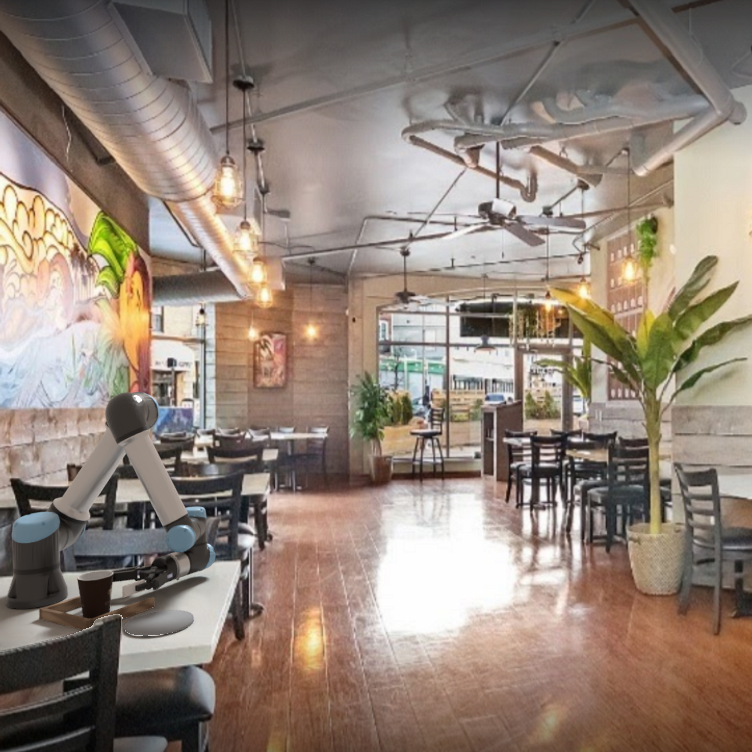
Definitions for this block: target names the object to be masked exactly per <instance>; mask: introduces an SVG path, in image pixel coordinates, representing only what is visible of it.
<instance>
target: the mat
mask: <svg viewBox="0 0 752 752" xmlns="http://www.w3.org/2000/svg"><path fill="white" fill-rule="evenodd" d="M194 620H195V619H194V615H193V614H192V613H191V612H189V611H188V610H187V611H186V610H181V609H166V610H165V609H163V610H157V611H151V612H146V613H144V614H143V613H142V614H141V615H137V616H135V617H133V618H131V619H129V620H128V621H127V622H126V623H125V624H124V629H125V630H126V632H128V633H130V634H134V635H143V636H148V635H160V634H167V633H172V632H176V631H178V632H180V631H179V630H181V631H183V630H185V629H187V628H188V626H189V627H190V626H191V625H192V624H193V623H194ZM186 627H187V628H186ZM124 629H123V630H124ZM182 629H183V630H182ZM125 630H124V631H125ZM176 633H177V632H176ZM172 634H173V633H172Z"/></svg>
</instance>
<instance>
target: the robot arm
mask: <svg viewBox="0 0 752 752" xmlns="http://www.w3.org/2000/svg"><path fill="white" fill-rule="evenodd" d="M104 415H105V423H104V426H105V432H104V433H103V435H102V436H101V438H100V439H99V440H98V443H97V444H96V446H94V448H93V450H92V452H91V453H90V454H89V456H88V458H86V461H85V462H84V463H83V465H82V467H81V469H80V470H78V473H77V474H76V476H75V477H74V478H73V480H72V482H71V483H70V485H69V486H68V487H67V489H66V491H65V492H64V494H63V495H62V496H61V497H57V498H54V500H53V501H52V503H51V504H50V506H49V507H48V509H47V510H46V511H40V512H33V513H30V514H25V515H23V516H21V517H19V518H17V519H16V520H15V521H14V522H13V523H12V530H11V531H12V532H11V538H12V541H11V542H12V543H11V544H12V572H13V573H12V579H11V582H10V584H9V585H10V586H9V588H8V591H7V595H6V599H5V601H6V607H8V608H9V607H10V608H9V609H14V608H16V609H17V610H21V609H22V610H23V609H24V610H26V609H27V610H28V609H34V608H42V607H47V606H50V605H53V604H56V603H59V602H62V601H63V600H65V599H66V598H67V597H68V595H69V594H68V593H69V592H68V590H69V588H68V584H67V583H66V580H65V578H64V575H63V572H62V570H61V551H64V550H65V549H67V548H70V547H71V546H73V545H75V544H76V543H77V542H78V541H79V540H80V539H81V538H82V537H83V536H84V533H85V530H86V525H87V523H88V521H89V520H90V518H91V513H90V511H89V510H90V509H91V507H92V506H93V505H94V503H95V502H96V500H97V498H98V497H99V495H100V494H101V492H102V491H103V489H104V488H105V486H106V485H107V484H108V482H109V480H110V479H111V477H112V476H113V474H114V473H115V471H116V470H117V468H118V467H119V465H120V463H121V462H122V460H123V459H124V458H125V456H127V458H128V459H129V462H130V463H131V465H132V468H133V470H134V471H135V473H136V476H137V478H138V480H139V482H140V484H141V485H142V487H143V489H144V492H145V493H146V496H147V498H148V499H149V501H150V503H151V506H152V508H153V509H154V511H155V513H156V515H157V517H158V519H159V521H160V523H161V525H162V527H163V529H164V532H165V533H166V536H165V542H166V543H165V544H166V546H167V547H168V549H169V550H170V551H172V552H171V553H168V554H166V555H162V556H159V557H156V558H154V560H153V561H152V563H151V564H150V565H149V564H148V565H145V566H143V565H141V564H139V565H135V566H132V567H126V568H120V569H115V570H111V571H112V572H113V583H118V582H124V581H133V580H134V582H131V583H128V584H125V585H122V590H121V591H122V592H121V593H122V598H126V597H129V596H130V597H131V596H132V595H135V594H138V593H141V592H144V591H146V590H147V591H150V590H151V589H152V590H153V591H157V590H158V589H160V588H161V587H162V586H164V585H165V584H167V583H169V582H173V581H174V580H176V581H179V580H180V578H183V577H187V576H189V575H192V574H195V573H198V572H201V571H204V570H206V569H208V568H210V567H212V566H213V564H214V563H215V560H216V552H215V550H214V547H213V546H212V545H211V544H210V543H208V540H207V539H208V538H207V536H208V535H207V533H208V532H207V519H208V518H207V512H206V509H205V507H204V506H203V507H202V506H188V507H185V505H184V503H183V500H182V499H181V496H180V495H179V492H178V491H177V489H176V486H175V485H174V483H173V481H172V479H171V477H170V474H169V473H168V471H167V469H166V467H165V465H164V463H163V461H162V459H161V457H160V454H159V453H158V450H157V449H156V447H155V444H154V443H153V441H152V439H151V437H150V433H151V428H153V427H154V425H156V424H157V422H158V421H159V419H160V415H161V409H160V405H159V403H158V401H157V400H156V398H154V397H153V396H152V395H150V394H147V393H145V392H141V391H135V392H131V391H130V392H121V393H118V394H116V395H114V396H113V397H112V398H111V399H110V400H109V401H108V403H107V405H106V407H105V414H104ZM16 609H15V610H16Z"/></svg>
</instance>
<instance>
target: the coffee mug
mask: <svg viewBox="0 0 752 752" xmlns="http://www.w3.org/2000/svg"><path fill="white" fill-rule="evenodd" d="M112 571H113V570H95V571H94V570H93V571H88V572H86V573H81V574H80V575H78V576H77V578H76V579H77V586H78V592H79V596H80V600H81V607H80V608H81V612H82V614H81V615H82V617H84V618H88V619H92V618H95V617H98V616H100V615H103V614H106V613H109V612H111V602H112V594H113V593H112V592H113V583H114V582H113V572H112Z"/></svg>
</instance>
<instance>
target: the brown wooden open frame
mask: <svg viewBox="0 0 752 752" xmlns="http://www.w3.org/2000/svg"><path fill="white" fill-rule="evenodd" d="M152 607H154V608H155V607H156V606H155V597H153V596H150V597H147V598H144V599H141V600H139V601H135V602H134V603H130V604H128V605H125V606H122V607H120V608H117V609H114V610H112V611H111V610H110V612H109V613H106V614H103V615H100V616H98V617H95V618H92V619H88V618H84V617H83V616H80V615H75V614H71V613H67V612H68V611H69V612H70V611H73V610H74V609H77V608H82V607H81V600H80V595H79V596H75V597H73V598H69V599H66V600H65V599H64V601H63V600H61V601H59V602H56V603H53V604H50V605H46V606H43V607H40V608H39V611H38V612H39V613H38V615H39V617H38V618H39V620H43V621H45V622H46V621H47V622H50V623H53V624H58V625H61V626H64V627H65V626H66V627H69V628H73V629H76V630H79V631H80V630H81V631H84V630H83V629H86V628H89V627H91V626H92V625H93V623H94V621H95V620H96V619H98V618H101V617H104V616H108V615H113V614H120V615H122V617H123V619H122V620H124V618H125V619H127V618H129V617H132V616H134V615H138V614H140V613H142V612H145V610H146V611H148V610H151V609H153V608H152ZM150 608H151V609H150ZM147 609H148V610H147ZM126 617H127V618H126Z"/></svg>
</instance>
